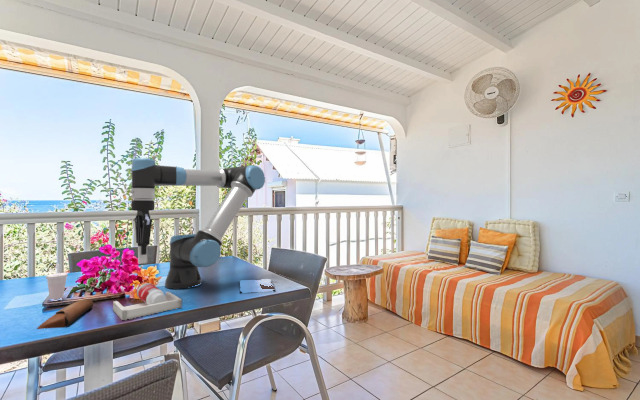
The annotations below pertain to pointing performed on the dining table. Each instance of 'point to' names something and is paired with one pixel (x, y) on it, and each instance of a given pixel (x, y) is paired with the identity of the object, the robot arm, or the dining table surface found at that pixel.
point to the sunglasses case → (67, 314)
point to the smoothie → (56, 284)
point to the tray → (147, 307)
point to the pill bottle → (150, 294)
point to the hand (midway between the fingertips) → (142, 263)
